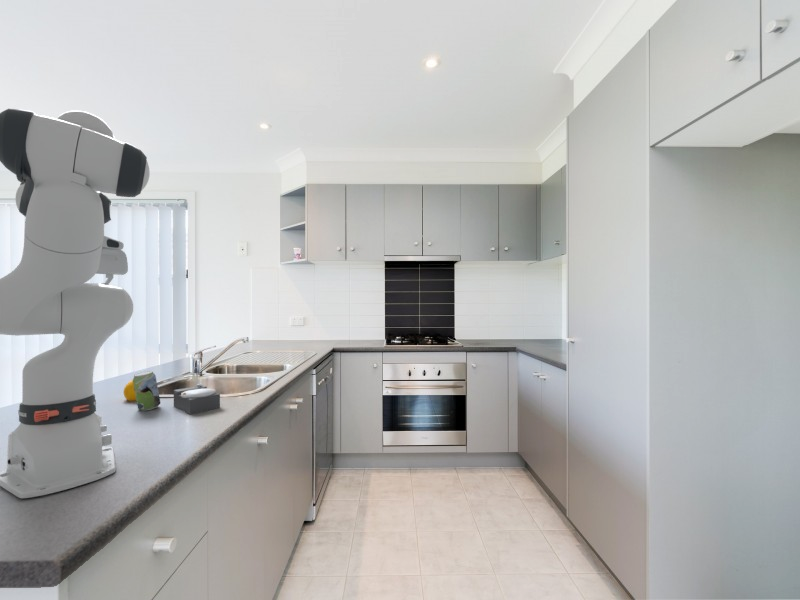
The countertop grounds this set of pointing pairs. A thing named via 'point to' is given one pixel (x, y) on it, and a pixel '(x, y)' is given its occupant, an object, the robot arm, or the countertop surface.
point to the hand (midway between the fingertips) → (84, 289)
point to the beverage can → (146, 390)
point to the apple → (130, 391)
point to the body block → (196, 399)
